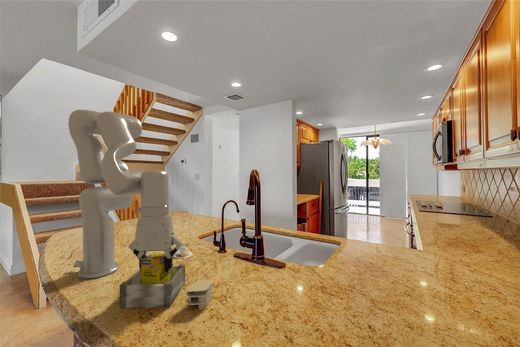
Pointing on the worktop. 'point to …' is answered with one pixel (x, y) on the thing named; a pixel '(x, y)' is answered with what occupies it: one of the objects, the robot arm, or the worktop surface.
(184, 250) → the teacup and saucer
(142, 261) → the supplement box
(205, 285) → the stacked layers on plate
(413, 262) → the worktop surface
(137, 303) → the crate
